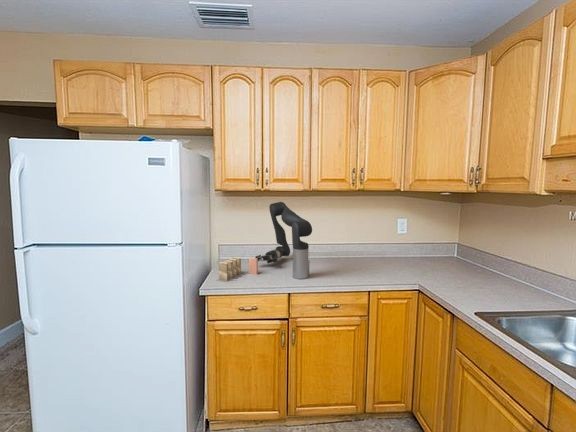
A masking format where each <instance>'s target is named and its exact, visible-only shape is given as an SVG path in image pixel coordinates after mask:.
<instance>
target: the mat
mask: <svg viewBox="0 0 576 432" xmlns="http://www.w3.org/2000/svg"><path fill="white" fill-rule="evenodd" d="M247 273H249V271H244V270H241V275H237V277H233V279H228V281H222V280H219V278H218V279H216V280H215V281H216V282H221V283H229V282H231V281H233V280H235V279H237V278H240V277H241V276H244V275H245V274H247Z"/></svg>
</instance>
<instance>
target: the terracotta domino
mask: <svg viewBox="0 0 576 432" xmlns="http://www.w3.org/2000/svg"><path fill="white" fill-rule="evenodd" d="M248 263H249V264H248V268H249V270H248V273H249V275H256V276H257V275H259V261H258V259H257V258H255V257H249V258H248Z"/></svg>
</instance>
